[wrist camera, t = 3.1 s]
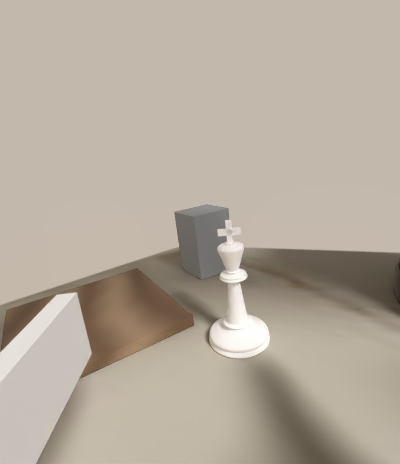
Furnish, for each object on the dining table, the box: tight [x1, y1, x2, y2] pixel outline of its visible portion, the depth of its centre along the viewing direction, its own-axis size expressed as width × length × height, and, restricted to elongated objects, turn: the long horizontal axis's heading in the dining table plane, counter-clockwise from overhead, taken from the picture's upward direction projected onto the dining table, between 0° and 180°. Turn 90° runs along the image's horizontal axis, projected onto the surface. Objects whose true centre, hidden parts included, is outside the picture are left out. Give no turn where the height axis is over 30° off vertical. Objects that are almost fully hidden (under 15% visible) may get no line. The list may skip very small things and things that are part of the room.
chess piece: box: [209, 220, 270, 358], centre depth 22 cm, size 5×5×10 cm
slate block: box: [175, 205, 229, 280], centre depth 37 cm, size 5×5×8 cm
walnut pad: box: [1, 269, 194, 378], centre depth 28 cm, size 15×15×1 cm
